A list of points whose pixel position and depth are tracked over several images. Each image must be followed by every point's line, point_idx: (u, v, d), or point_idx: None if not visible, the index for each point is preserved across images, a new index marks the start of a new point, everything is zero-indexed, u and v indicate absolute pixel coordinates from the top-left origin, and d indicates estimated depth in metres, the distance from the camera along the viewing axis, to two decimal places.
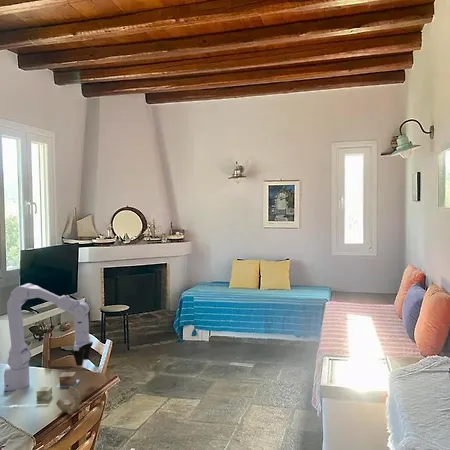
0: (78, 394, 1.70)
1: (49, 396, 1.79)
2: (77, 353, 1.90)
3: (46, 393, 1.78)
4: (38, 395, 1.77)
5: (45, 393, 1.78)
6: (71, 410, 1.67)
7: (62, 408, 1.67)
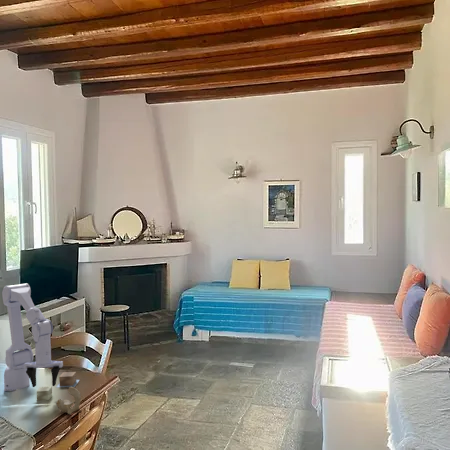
0: (78, 394, 1.70)
1: (49, 396, 1.79)
2: None
3: (46, 393, 1.78)
4: (38, 395, 1.77)
5: (45, 393, 1.78)
6: (71, 410, 1.67)
7: (62, 408, 1.67)
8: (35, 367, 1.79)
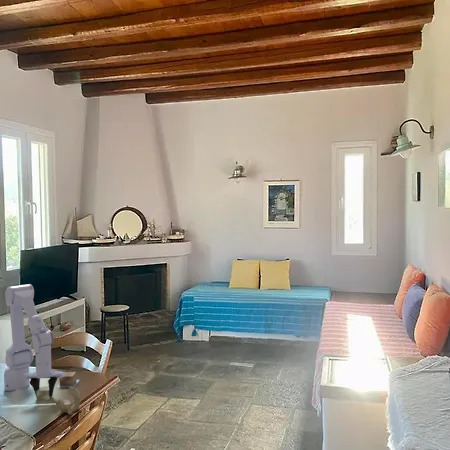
0: (78, 394, 1.70)
1: None
2: None
3: (46, 393, 1.78)
4: (38, 395, 1.77)
5: (45, 393, 1.78)
6: (71, 410, 1.67)
7: (62, 408, 1.67)
8: None
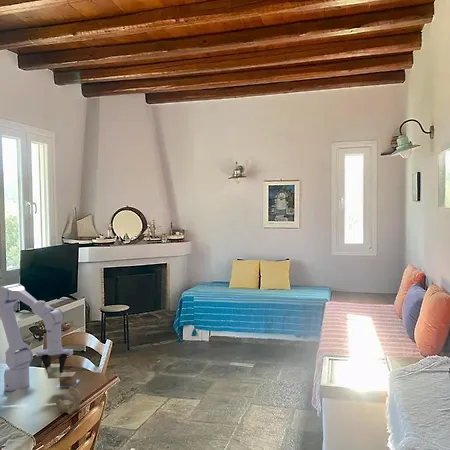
0: (78, 394, 1.70)
1: (59, 372, 1.86)
2: None
3: (57, 369, 1.84)
4: (48, 371, 1.84)
5: (56, 370, 1.84)
6: (71, 410, 1.67)
7: (62, 408, 1.67)
8: None
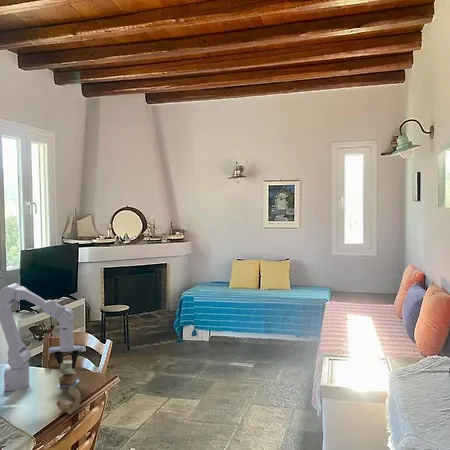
0: (78, 394, 1.70)
1: None
2: None
3: (69, 365, 1.92)
4: (61, 368, 1.92)
5: (68, 366, 1.92)
6: (71, 410, 1.67)
7: (62, 408, 1.67)
8: None
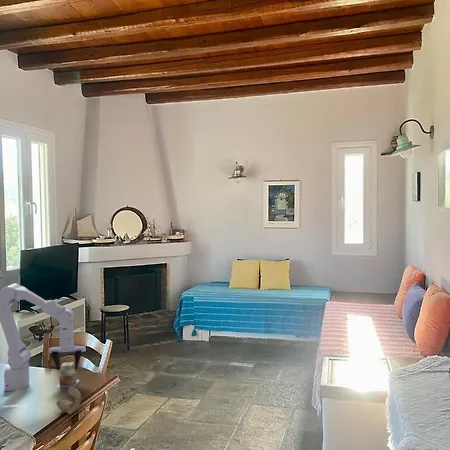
0: (78, 394, 1.70)
1: (72, 371, 1.94)
2: None
3: (70, 367, 1.93)
4: (61, 370, 1.92)
5: (69, 368, 1.92)
6: (71, 410, 1.67)
7: (62, 408, 1.67)
8: (59, 351, 1.94)
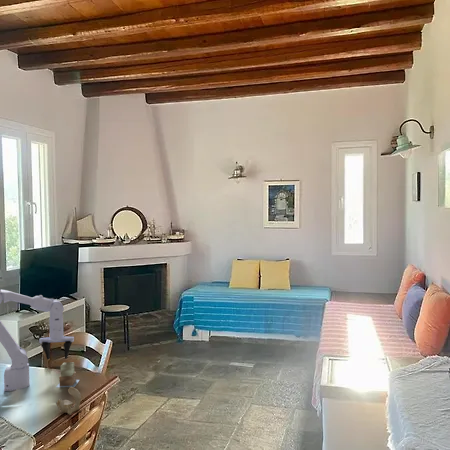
0: (78, 394, 1.70)
1: (72, 371, 1.94)
2: None
3: (70, 367, 1.93)
4: (61, 370, 1.92)
5: (69, 368, 1.92)
6: (71, 410, 1.67)
7: (62, 408, 1.67)
8: (49, 342, 2.00)
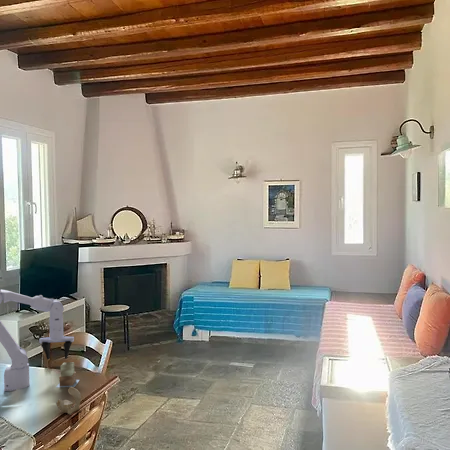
0: (78, 394, 1.70)
1: (72, 371, 1.94)
2: None
3: (70, 367, 1.93)
4: (61, 370, 1.92)
5: (69, 368, 1.92)
6: (71, 410, 1.67)
7: (62, 408, 1.67)
8: (49, 342, 2.00)
